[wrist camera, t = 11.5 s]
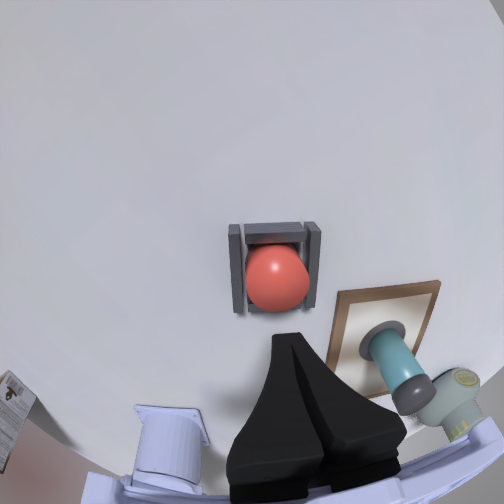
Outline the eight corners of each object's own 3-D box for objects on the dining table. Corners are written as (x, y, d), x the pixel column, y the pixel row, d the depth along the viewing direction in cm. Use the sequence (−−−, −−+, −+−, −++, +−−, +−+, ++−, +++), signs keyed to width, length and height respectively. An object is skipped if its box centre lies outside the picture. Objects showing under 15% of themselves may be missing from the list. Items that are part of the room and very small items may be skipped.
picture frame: (396, 387, 29) (399, 392, 28) (316, 404, 29) (317, 409, 28) (438, 279, 23) (442, 283, 22) (337, 291, 22) (341, 296, 22)
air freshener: (402, 405, 32) (426, 457, 22) (435, 365, 28) (469, 419, 19) (445, 398, 33) (469, 441, 24) (474, 362, 30) (504, 405, 21)
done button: (298, 285, 21) (307, 309, 19) (246, 288, 21) (247, 313, 18) (300, 237, 20) (311, 255, 17) (244, 239, 20) (245, 258, 17)
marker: (393, 351, 25) (426, 408, 18) (363, 357, 25) (392, 420, 18) (403, 324, 24) (443, 382, 16) (371, 330, 23) (407, 394, 16)
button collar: (308, 293, 22) (314, 307, 20) (233, 297, 22) (233, 312, 20) (313, 221, 20) (321, 231, 18) (229, 224, 20) (228, 234, 18)
